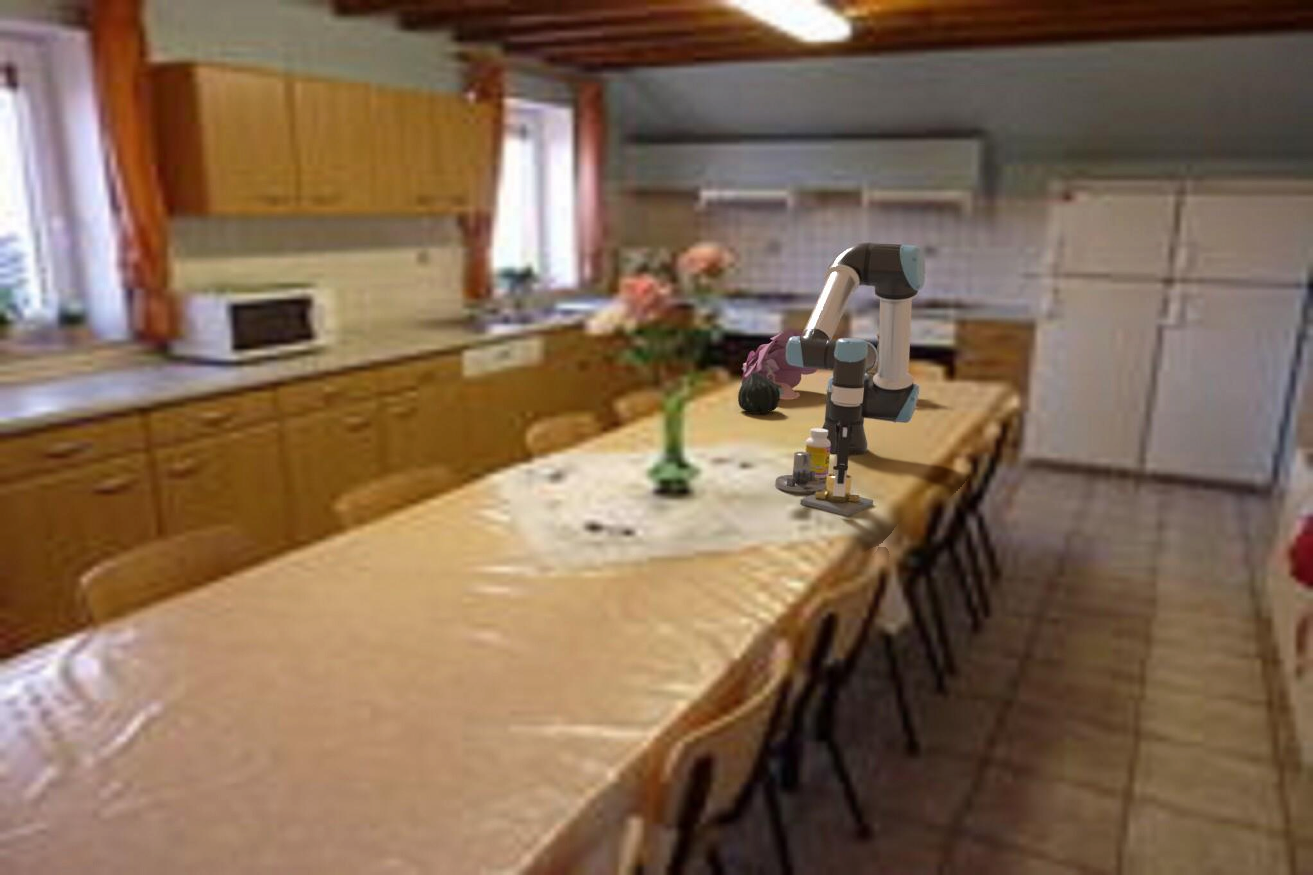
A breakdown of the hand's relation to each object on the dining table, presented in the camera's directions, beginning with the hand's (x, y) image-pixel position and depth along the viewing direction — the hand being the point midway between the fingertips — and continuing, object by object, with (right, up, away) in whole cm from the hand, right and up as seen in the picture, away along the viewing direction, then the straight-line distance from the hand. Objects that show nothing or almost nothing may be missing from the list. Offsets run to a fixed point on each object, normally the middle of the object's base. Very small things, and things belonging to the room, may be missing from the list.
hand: (838, 488), depth 232 cm
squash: (-8, +21, +104) cm, 107 cm away
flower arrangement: (+2, +29, +139) cm, 142 cm away
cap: (0, -3, +1) cm, 3 cm away
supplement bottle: (-1, +2, +26) cm, 26 cm away
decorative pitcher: (+46, +28, +143) cm, 153 cm away
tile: (0, -4, +1) cm, 4 cm away
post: (-7, -1, +14) cm, 16 cm away
